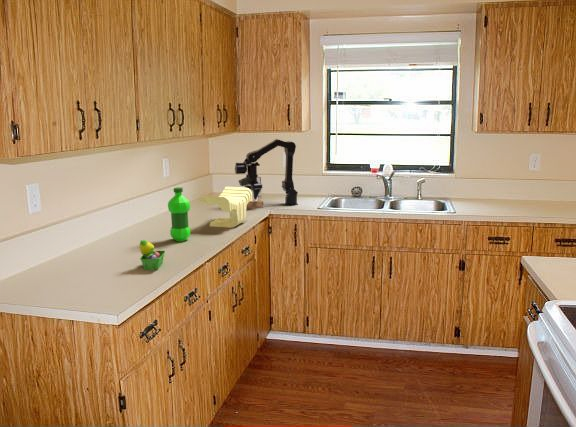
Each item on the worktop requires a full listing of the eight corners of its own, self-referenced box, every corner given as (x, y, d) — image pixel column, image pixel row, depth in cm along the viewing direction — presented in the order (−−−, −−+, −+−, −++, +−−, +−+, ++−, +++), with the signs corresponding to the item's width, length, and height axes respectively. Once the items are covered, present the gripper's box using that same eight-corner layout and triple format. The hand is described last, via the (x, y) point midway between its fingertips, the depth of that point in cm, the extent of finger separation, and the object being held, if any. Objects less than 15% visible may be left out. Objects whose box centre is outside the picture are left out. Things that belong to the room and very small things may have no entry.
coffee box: (261, 201, 350) (261, 176, 347) (256, 202, 345) (255, 178, 341) (250, 200, 355) (250, 176, 351) (244, 201, 349) (244, 177, 346)
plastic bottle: (195, 238, 257) (193, 186, 252) (183, 243, 247) (181, 190, 242) (177, 236, 260) (175, 185, 255) (165, 241, 251) (162, 189, 246)
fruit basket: (160, 271, 207) (158, 243, 205) (137, 271, 207) (135, 243, 205) (166, 262, 218) (164, 235, 216) (144, 262, 218) (142, 236, 216)
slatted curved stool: (230, 231, 269) (229, 197, 265) (202, 229, 273) (200, 195, 270) (252, 219, 296) (252, 187, 293) (226, 217, 301) (225, 186, 298)
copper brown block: (257, 204, 337) (257, 198, 337) (263, 207, 328) (263, 201, 328) (242, 206, 333) (242, 200, 333) (248, 209, 324) (247, 202, 324)
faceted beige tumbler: (258, 199, 334) (258, 188, 332) (258, 201, 327) (258, 190, 325) (247, 199, 333) (247, 188, 332) (247, 201, 327) (246, 190, 325)
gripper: (234, 172, 332) (235, 196, 335) (244, 175, 315) (245, 201, 318) (251, 171, 336) (252, 195, 339) (262, 174, 319) (262, 200, 323)
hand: (252, 198), depth 330 cm, fingers open, 9 cm apart
